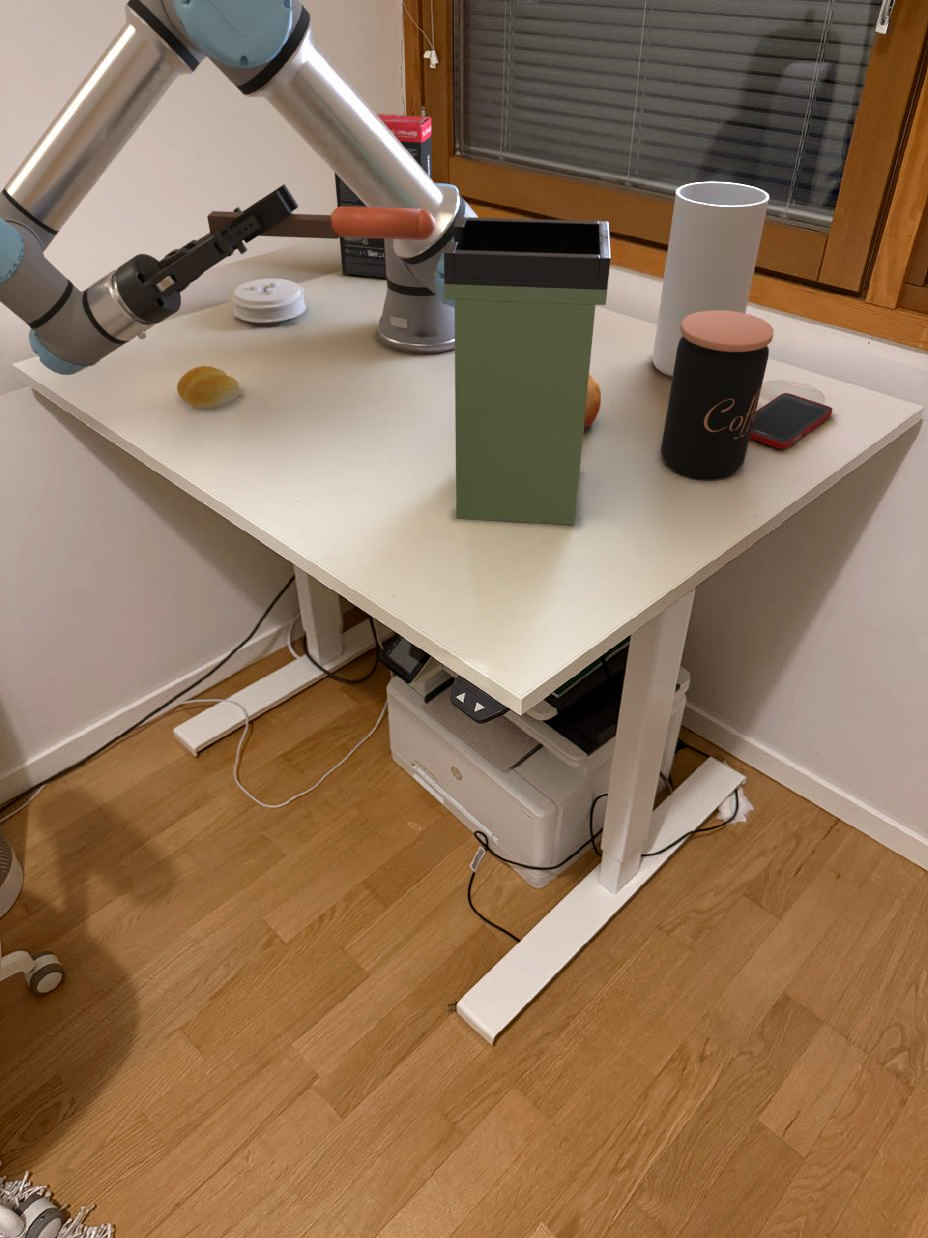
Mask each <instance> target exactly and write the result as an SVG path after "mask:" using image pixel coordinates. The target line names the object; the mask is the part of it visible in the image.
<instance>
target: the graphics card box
mask: <svg viewBox="0 0 928 1238" xmlns="http://www.w3.org/2000/svg"><path fill="white" fill-rule="evenodd" d="M376 114H377V115H378V117H379V118H380V119H381V120H382V121H383V122H384V124H385V125H386V126H387V127H388V128H389V130H390V131H391V132H392V133H393V134H394V136H395V137H396V138H397V139H398V140H399V141H400V143H401V144H402V145H403V146H404V147H405V149H406V150H407V151H408V152H409V153H410V154H411V156H412V157H413V158H414V159H415V160H416V162H417V163H418V164H419V165H420V166H421V167H422V169H423V170H424V171H425V172H426V173H427V175H428V176H429V177H430V178H431V179H432V180H433V158H432V157H433V155H432V154H433V153H432V117H430V116H421V115H419V116H417V115H404V114H402V115H401V114H390V113H388V114H387V113H376ZM334 182H335V183H334V184H335V195H336V206H337V207H336V208H338V207H341V206H353V207H367V206H366V205H365V204H364V203H363V202H362V201H361V200H360V199H359V197H358V196H357V195H356V194H355V193H354V192H353V191H352V190H351V189H350V188H349V187H348V186H347V185H346V184H345V183H344V182H343V180H342V179H341V178H340V177H339V176H338V175H337V174H336V173H335V172H334ZM339 245H340V247H339V248H340V258H341V259H340V260H341V270H342V274H343V275H344V274H345V275H352V276H361V277H370V278H371V277H372V278H380V279H387V276H386V259H385V243H384V239H380V238H353V237H341V236H340V237H339Z"/></svg>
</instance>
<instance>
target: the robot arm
mask: <svg viewBox="0 0 928 1238" xmlns="http://www.w3.org/2000/svg"><path fill="white" fill-rule="evenodd" d="M124 11H125V19H126V20H125V23H124V25H122V27H121V28H120V30H119V31H118V33H117V34H116V35H115V36H114V38H113V39H112V40H111V42H110V43H109V45H108V46H107V48H106V49H105V50H104V51H103V53H102V54H101V55H100V57H99V58H98V59H97V61H96V62H95V64H94V65H93V66H92V68H91V69H90V70H89V72H88V73H87V74H86V76H85V77H84V78H83V80H82V82H80V84H79V86H78V87H77V88H76V89H75V90H74V92H73V93H72V95H71V96H70V97H69V99H68V100H67V101H66V103H65V104H64V106H63V107H62V108H61V110H60V111H59V112H58V114H57V115H56V116H55V118H54V119H53V120H52V121H51V123H50V124H49V126H48V127H47V129H46V130H45V131H44V132H43V134H42V135H41V137H40V138H38V139H39V140H37V142H36V143H35V145H34V146H33V147H32V148H31V150H30V151H29V153H28V154H27V155H26V157H25V159H24V160H23V161H22V162H21V164H20V165H19V166H18V167H17V169H16V171H15V172H14V173H13V175H11V177H10V178H9V180H8V181H7V183H6V184H5V185H4V188H3V189H2V190H1V191H0V303H1V304H3V306H5V307H6V308H7V309H8V310H10V311H11V312H12V313H13V314H14V315H16V316H17V317H18V318H19V319H20V320H22V321H23V323H25V324H26V325H27V326H29V328H30V329H29V332H28V343H29V345H30V348H31V350H32V352H33V353H34V354H36V355H37V356H38V357H39V362H40V363H41V364H42V365H43V366H45V368H47V369H48V370H50V371H51V372H53V373H55V374H59V375H61V376H62V375H63V376H71V375H76V374H77V373H79V372H81V371H83V370H85V369H87V368H89V367H92V366H95V365H96V364H97V363H99V362H100V361H101V360H103V359H104V358H105V357H108V355H110V354H112V353H113V352H115V351H116V350H118V349H119V348H121V347H122V346H124V345H126V344H127V343H129V342H131V341H132V340H133V339H135V338H136V337H138V338H139V340H145V338H147V334H146V331H147V330H149V329H151V328H152V327H154V326H155V325H158V324H161V322H163V321H165V320H167V319H168V318H169V317H171V316H173V315H174V314H176V313H177V312H178V311H179V310H180V309H181V305H182V296H181V293H182V292H184V291H185V290H186V289H187V288H188V287H189V286H191V285H190V284H193V282H196V281H197V280H199V279H200V278H201V277H202V276H203V275H204V273H206V271H208V270H209V269H211V268H212V267H214V266H217V264H218V263H221V262H222V261H223V260H224V259H226V258H228V257H229V258H230V257H231V256H233V255H234V253H235V251H236V250H237V251H238V252H239V253H240V255H243V254H245V253H246V252H247V251H248V248H247V247H246V244H248V243H249V242H252V241H253V240H254V239H255V238H257V237H260V236H259V235H260V234H262V233H263V232H265V231H267V230H268V229H270V228H271V227H273V226H274V225H276V224H278V223H279V222H281V221H282V220H284V219H285V218H287V217H289V216H290V215H291V214H293V212H294V211H296V210H297V209H298V208H299V205H298V203H297V201H296V200H295V198H294V197H293V195H292V194H291V192H290V190H289V189H288V188H287V185H286V184H285V183H284V184H281V185H280V186H279V187H277V188H275V190H273V191H272V192H270V193H268V194H266V195H265V196H263V197H262V198H261V199H259V200H258V201H256V202H255V203H253V204H252V205H250V206H249V207H246V208H245V209H244V210H241V208H240V206H237V207H235V208H233V210H232V212H244V213H243V214H241V215H240V216H238V217H237V218H235V219H233V220H232V221H231V222H232V223H233V225H234V226H235V227H234V228H233V227H232V226H231V224H229V225H225V226H224V228H223V229H222V230H220V231H218V232H217V233H215V234H210V232H208V233H207V234H205V235H204V236H202V237H200V238H198V239H192V240H190V241H189V242H188V243H186V244H184V245H183V246H181V247H180V248H174V249H173V250H171V251H170V252H168V253H167V254H165V256H164V257H163V258H162V259H160V260H158V259H157V258H155V257H154V256H152V255H150V254H148V253H147V254H146V253H139V254H136V255H135V256H133V257H132V258H130V259H128V260H127V261H125V262H124V263H123V264H121V265H119V266H118V267H117V269H113V270H112V271H110V272H108V273H107V274H106V275H104V276H102V277H101V278H99V279H98V280H97V281H95V282H93V283H92V284H91V285H89V286H88V287H87V288H86V289H84V290H82V291H81V290H80V289H78V287H77V286H75V284H74V283H73V282H72V281H71V280H69V278H67V277H66V276H65V275H64V274H63V273H62V272H61V271H60V270H59V269H58V268H57V267H56V266H54V265H53V264H52V262H51V261H49V260H48V259H47V258H46V256H45V254H44V253H45V251H46V250H47V248H48V247H49V245H51V244H52V242H53V241H54V239H55V238H56V236H57V235H58V233H59V232H60V230H62V228H63V227H64V225H66V223H67V221H68V220H69V219H70V217H71V216H72V215H73V214H74V212H75V211H76V209H77V208H78V207H79V206H80V204H81V203H82V202H83V201H84V199H85V198H86V197H87V195H88V194H89V193H90V192H91V190H92V189H93V187H94V186H96V184H97V182H98V181H100V178H101V177H102V176H103V174H104V173H105V172H106V171H107V169H108V168H109V167H110V166H111V164H112V163H113V161H115V159H116V158H117V156H118V155H119V154H120V153H121V151H122V150H123V148H124V147H125V146H126V145H127V143H128V142H129V141H130V140H131V138H132V137H133V136H134V135H135V133H136V132H137V131H138V129H139V128H140V126H141V125H142V124H143V123H144V121H145V120H146V119H147V117H148V116H149V115H150V114H151V112H152V111H153V109H155V107H156V106H157V104H158V103H159V102H160V100H162V98H163V96H164V95H165V94H166V93H167V91H168V90H169V89H170V88H171V86H172V85H173V83H174V82H175V81H176V79H177V78H178V77H179V76H181V75H193V73H194V72H195V71H196V70H197V68H198V67H199V66H200V64H201V63H202V62H203V61H204V60H205V59H206V58H208V59H209V60H210V62H212V63H213V65H214V66H215V67H217V69H218V70H219V71H220V72H221V73H222V74H223V75H224V76H225V77H226V78H227V79H228V80H229V82H230V83H232V85H233V86H235V88H237V89H238V90H239V91H240V92H241V94H242V95H243V96H245V97H246V98H264V99H265V100H266V101H267V102H268V103H269V104H270V105H271V106H272V107H273V108H274V109H275V111H277V112H278V114H279V115H280V116H281V117H282V118H283V119H284V120H285V121H286V122H287V123H288V125H290V126H291V128H292V129H293V130H294V131H295V132H296V133H297V134H298V135H299V136H300V137H301V138H302V139H303V140H304V142H306V144H307V145H309V146H310V148H311V149H312V150H313V151H314V153H316V155H318V156H319V157H320V159H321V160H323V162H324V163H325V164H326V165H327V166H328V167H329V168H330V169H331V170H332V171H333V172H334V174H335V173H336V174H337V175H338V176H339V177H340V178H341V179H342V180H343V182H344V183H345V184H346V185H347V186H348V187H349V188H350V189H351V190H352V191H353V192H354V193H355V194H356V195H357V196H358V197H359V199H360V200H361V201H362V202H363V203H364V204H365V205H366V206H367V207H382V208H412V209H425V210H427V211H429V212H430V213H431V214H432V215H433V217H434V219H435V230H434V232H433V234H432V235H431V236H430V237H429V238H427V239H425V240H407V239H384V243H385V259H386V276H387V278H386V294H385V299H384V302H383V308H382V313H381V316H380V318H379V321H378V339H379V341H380V342H381V343H382V344H383V345H384V346H386V347H388V348H390V349H392V350H395V351H398V352H404V353H409V354H436V353H443V352H447V351H451V350H455V306H454V300H455V299H445V298H444V251H445V249H446V246H447V243H448V242H454V225H455V223H456V220H457V218H458V217H474V218H480V217H479V216H478V215H477V214H476V212H475V211H474V210H473V209H472V208H471V206H470V205H469V204H468V203H467V201H465V199H464V198H463V197H462V196H461V194H460V192H459V189H458V187H457V186H456V185H454V184H450V183H442V182H441V183H439V182H434V181H433V178H432V179H431V178H430V177H429V176H428V175H427V173H426V172H425V171H424V170H423V169H422V167H421V166H420V165H419V164H418V163H417V162H416V160H415V159H414V158H413V157H412V156H411V154H410V153H409V152H408V151H407V150H406V149H405V147H404V146H403V145H402V144H401V143H400V141H399V140H398V139H397V138H396V137H395V136H394V134H393V133H392V132H391V131H390V130H389V128H388V127H387V126H386V125H385V124H384V122H383V121H382V120H381V119H380V118H379V117H378V115H377V114H378V113H376V112H375V111H374V109H373V108H372V107H371V106H370V105H369V104H368V102H367V101H366V100H365V98H364V97H363V96H362V95H361V94H360V93H359V92H358V90H357V89H356V88H355V87H354V85H352V83H351V82H350V81H349V80H348V78H347V77H346V76H345V74H343V72H342V71H341V70H340V69H339V68H338V67H337V66H336V64H335V63H334V62H333V61H332V59H330V57H329V56H328V55H327V53H325V52H324V50H323V49H322V48H321V46H320V45H319V44H318V43H317V42H316V40H315V39H314V36H313V35H314V34H313V19H312V18H313V16H312V14H310V12H309V11H308V10H307V8H305V7H304V5H303V4H302V2H301V1H300V0H128V1H127V3H126V4H125V6H124ZM244 243H245V244H244Z"/></svg>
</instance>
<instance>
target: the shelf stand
mask: <svg viewBox="0 0 928 1238" xmlns="http://www.w3.org/2000/svg"><path fill="white" fill-rule="evenodd" d="M607 296H608V289H607V290H598V289H570V288H542V287H515V286H487V285H460V284H444V298H445V299H455V300H454V306H455V349H454V407H455V409H454V413H455V415H454V417H455V419H454V420H455V421H454V422H455V423H454V425H455V427H454V428H455V431H454V432H455V513H456V514H455V518H456V519H460V520H461V519H463V520H478V521H495V522H496V521H497V522H498V521H499V522H510V523H511V522H512V523H529V524H530V523H531V524H544V525H562V526H575V525H576V524H575V523H576V514H577V503H578V493H579V483H580V473H581V472H580V471H581V464H582V463H581V461H582V453H583V452H582V451H583V441H584V430H585V428H584V421H585V410H586V400H587V389H588V379H589V374H590V367H591V357H592V347H593V346H592V345H593V335H594V325H595V316H596V306H606V305H607V298H608V297H607Z"/></svg>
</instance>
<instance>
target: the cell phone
mask: <svg viewBox="0 0 928 1238" xmlns="http://www.w3.org/2000/svg"><path fill="white" fill-rule="evenodd" d="M832 414H833V407H831V406H829V405H827V404H823V403H820V402H816V401H813V400H810V399H807V398H806V397H802V396H798V395H796V394H792V393H789V392H783V393H781V394H780V395H778V396H777V397H775V398H774V399H772V400H770V401H769V402H767V403H766V404H765V405H763V406H762V407H759V409H756V413H755V417H754V421H753V426H752V430H751V434H750V439H751V440H753V441H757V442H759V443H762V444H765V445H768V446H769V447H773V448H776V449H779V450H785V449H787V448H789V447H791V446H792V445H793V444H794V443H795V442H796V441H797V440H799V439H800V438H802V437H804V436H805V435H807V434H808V433H809V432H811V431H812V430H813V429H814V428H816V427H817V426H818V425H820V424H821V423H822V422H824V421H825V420H826V419H828V418H829V417H830V416H831V415H832Z"/></svg>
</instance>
